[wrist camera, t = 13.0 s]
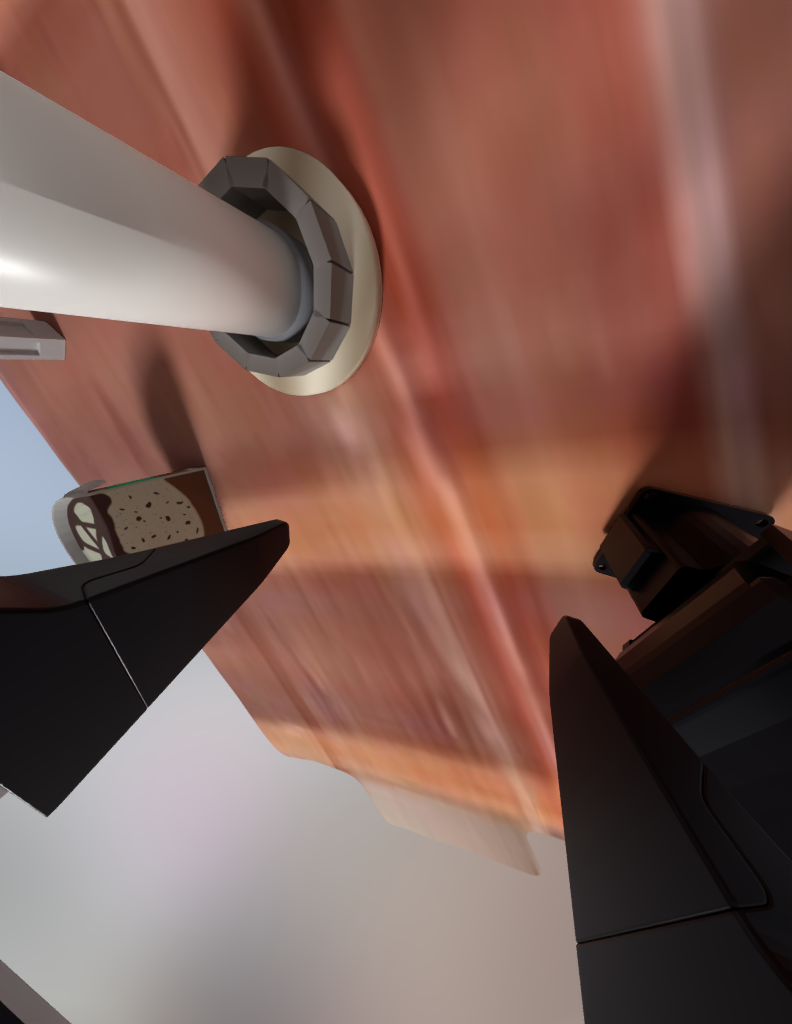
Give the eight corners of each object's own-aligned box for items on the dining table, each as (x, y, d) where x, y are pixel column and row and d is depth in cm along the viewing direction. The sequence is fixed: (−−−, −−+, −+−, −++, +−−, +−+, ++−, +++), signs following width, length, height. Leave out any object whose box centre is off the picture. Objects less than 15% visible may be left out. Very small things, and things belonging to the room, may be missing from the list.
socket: (396, 164, 14) (367, 109, 11) (371, 409, 20) (347, 417, 17) (206, 157, 17) (138, 110, 14) (233, 378, 23) (191, 380, 20)
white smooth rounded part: (325, 238, 16) (-196, -132, 4) (323, 349, 18) (8, 324, 7) (244, 229, 17) (-356, -81, 5) (253, 336, 20) (-125, 295, 8)
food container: (156, 447, 29) (16, 481, 21) (201, 451, 28) (69, 490, 19) (195, 547, 35) (98, 605, 27) (235, 556, 33) (145, 621, 25)
